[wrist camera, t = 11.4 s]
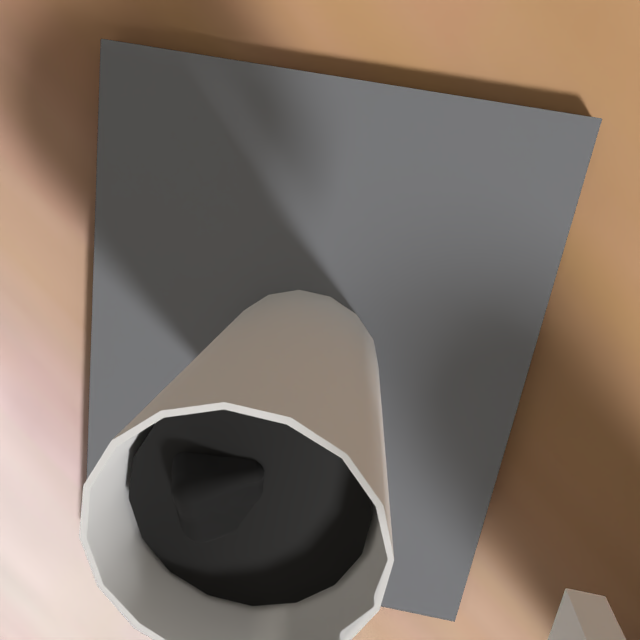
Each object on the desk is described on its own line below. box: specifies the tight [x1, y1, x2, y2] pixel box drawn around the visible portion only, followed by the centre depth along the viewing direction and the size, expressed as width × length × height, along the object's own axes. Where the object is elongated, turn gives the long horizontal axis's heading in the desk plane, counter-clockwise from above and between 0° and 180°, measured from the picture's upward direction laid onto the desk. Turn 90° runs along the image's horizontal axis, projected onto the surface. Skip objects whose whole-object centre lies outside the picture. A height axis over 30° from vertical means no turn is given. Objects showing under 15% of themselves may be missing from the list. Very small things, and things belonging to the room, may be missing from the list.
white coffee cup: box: [79, 290, 394, 640], centre depth 17 cm, size 7×7×10 cm
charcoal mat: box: [87, 39, 602, 622], centre depth 22 cm, size 20×16×1 cm
